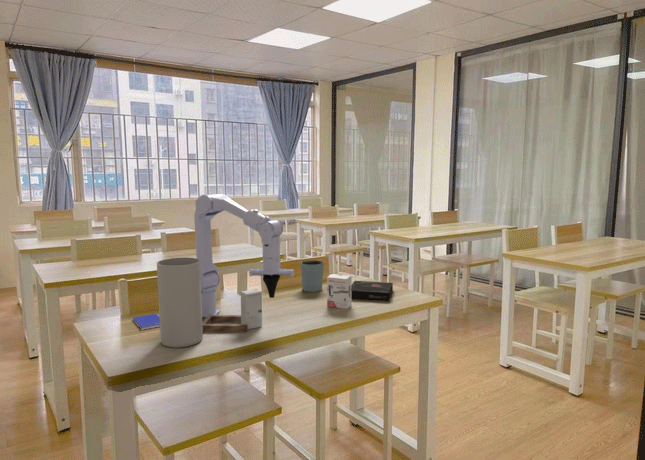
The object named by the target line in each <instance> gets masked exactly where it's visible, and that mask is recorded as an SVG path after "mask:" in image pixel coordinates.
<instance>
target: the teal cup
mask: <svg viewBox="0 0 645 460" xmlns="http://www.w3.org/2000/svg"><path fill="white" fill-rule="evenodd" d="M324 268H325V261H322V260H315V259H314V260H310V259H308V260H304V261H301V262H300V271H301V274H300V275H301V285H302V286H301V287H302V288H301V289H302V291H303V290H304V292H306V291H308V292H307V293H317V292H316V291H318V292H321V291H322V290H323V281H324V279H323V278H324ZM320 290H321V291H320Z"/></svg>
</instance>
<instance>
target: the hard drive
mask: <svg viewBox="0 0 645 460" xmlns="http://www.w3.org/2000/svg"><path fill="white" fill-rule="evenodd" d="M133 320H134V321H135V322H134V321H133ZM132 321H133V322H134V324H136V325H137V327H138V326H139V327H140V328H141V329H140V328H139V327H138V328H139V329H140V330H141V331H145V330H144V329H146V330H151V329H156V328H155V327H157V328H160V317H159V314H157V313H153V314H152V313H151V314H146V315H141V316H140V315H139V316H135V317H133V318H132ZM150 328H151V329H150Z"/></svg>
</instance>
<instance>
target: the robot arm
mask: <svg viewBox="0 0 645 460" xmlns="http://www.w3.org/2000/svg"><path fill="white" fill-rule="evenodd" d="M194 202H195V211H194V216H193V217H194V219H193V220H194V235H195V237H194V239H195V252H196V255H195V256H196V259H199V260H200V275H201V302H202V318H207V317H208V316H209V315H219V312H221V310H220V309H217V289H218V286H219V284H220V282H221V277H220V274H219V271H218V267H217V265H215V264H214V263H213V260H214V259H213V245H212V243H213V242H212V227H211V226H212V224H211V221H212V219H214V218H215V216H216V215H218V214H219V213H222V212H223V211H225V212H227V213H230V214H231V215H233V216H235V217H238V218H239V219H241V220H242V222H243V223H244V225H245V226H247V227H248V228H251V229H252V230H254V231H255V232H257V233H258V235H259V237H260V239H261V244H262V268H250V269H249V271H248V273H249V274H248V275H249V277H253V276H255V277H256V276H259V277H262V281H263V283H264V285H265V287H266V289H267V292H268V296H269V299H273V298H275V294H276V290H277V289H276V288H277V285H278V282H279V281H280V278H281V277H294V276H295V270H294V269H291V268H290V269H288V268H281V235H282V234H283V231H284V226H283V224H282V222H281V221H279V219H277V218H276V219H275V218H274V219H271V218H270V217H269V216H268V215H267V216H265V215H264V214H262V213H260V211H259V210H258V209H253V208H252V209H249V210H248V209H247V208H245V207H243V206H242V205H240V204H238V202H235V201H234V200H233V199H231V197H229V195H226V194H224V193H222V192H221V193H220V192H219V193H214V194H212V193H211V194H202V195H200V196H199V197H198V198H197V199H196V200H194Z"/></svg>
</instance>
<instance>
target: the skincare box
mask: <svg viewBox="0 0 645 460" xmlns="http://www.w3.org/2000/svg"><path fill="white" fill-rule="evenodd" d="M262 293H263V292H262V291H261V290H258V289H247V290H241V291H240V315H241V322H240V324H242V325H248V330H250V329H251V330H252V329H257V328H260V327H263V312H262V311H263V305H262V304H263V299H262V298H263V294H262Z"/></svg>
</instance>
